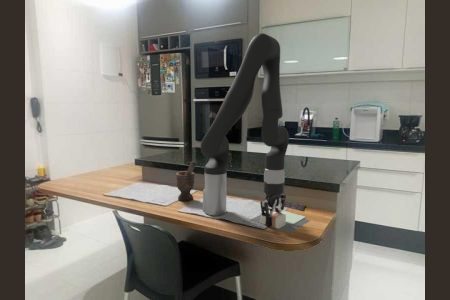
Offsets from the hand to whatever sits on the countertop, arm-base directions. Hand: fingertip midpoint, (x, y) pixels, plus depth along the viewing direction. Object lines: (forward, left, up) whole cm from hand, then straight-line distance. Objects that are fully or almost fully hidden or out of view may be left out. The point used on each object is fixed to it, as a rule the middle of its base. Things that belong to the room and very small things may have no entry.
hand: (272, 223), depth 114 cm
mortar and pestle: (-47, -1, -1) cm, 47 cm away
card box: (0, 0, 0) cm, 0 cm away
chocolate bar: (-3, +19, -1) cm, 19 cm away
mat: (0, +5, -1) cm, 5 cm away
